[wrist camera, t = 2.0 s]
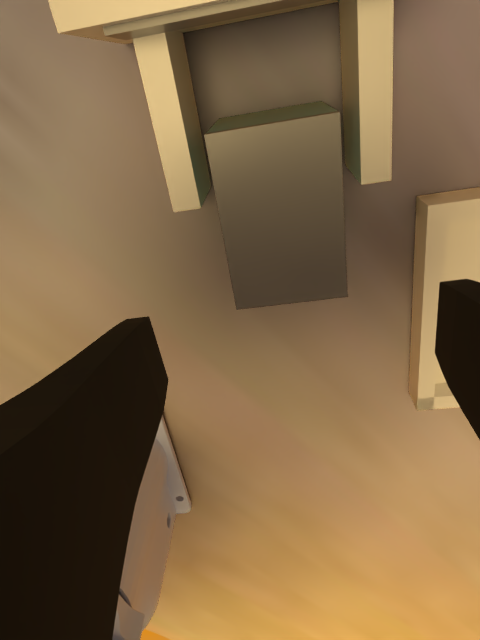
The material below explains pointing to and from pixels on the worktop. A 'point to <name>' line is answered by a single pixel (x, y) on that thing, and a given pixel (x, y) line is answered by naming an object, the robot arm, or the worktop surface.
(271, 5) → the bay
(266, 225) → the tall grey-green carton
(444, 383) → the tray
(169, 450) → the robot arm
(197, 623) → the worktop surface
